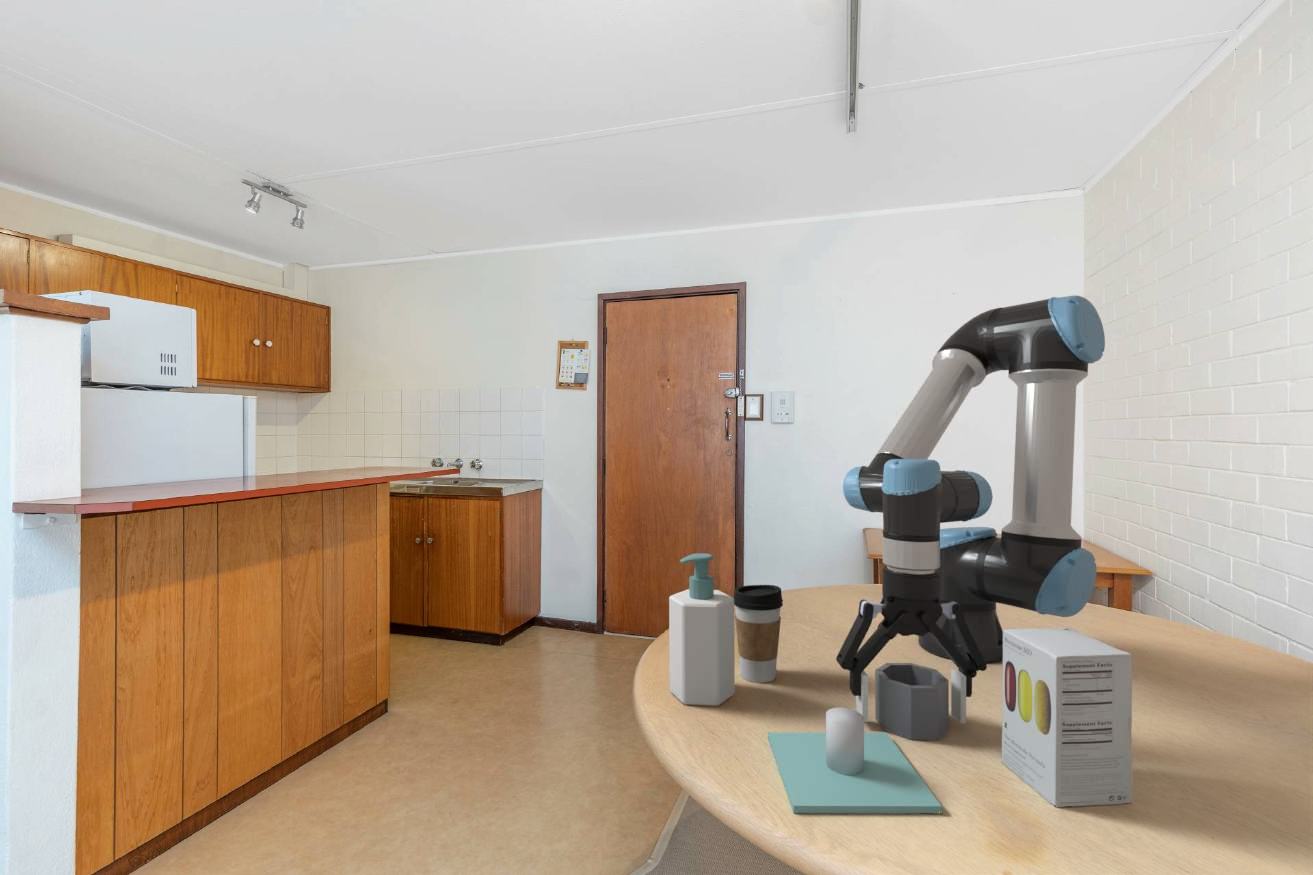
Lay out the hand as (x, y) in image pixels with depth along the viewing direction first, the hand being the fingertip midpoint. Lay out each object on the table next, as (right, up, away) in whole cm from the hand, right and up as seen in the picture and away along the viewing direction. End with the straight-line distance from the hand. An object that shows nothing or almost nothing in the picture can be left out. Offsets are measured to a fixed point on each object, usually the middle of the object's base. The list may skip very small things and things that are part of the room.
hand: (910, 718), depth 84 cm
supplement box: (+12, -1, -14) cm, 19 cm away
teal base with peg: (-13, -1, -12) cm, 18 cm away
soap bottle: (-29, -1, +11) cm, 31 cm away
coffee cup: (-19, -1, +17) cm, 26 cm away
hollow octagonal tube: (0, -1, 0) cm, 1 cm away
